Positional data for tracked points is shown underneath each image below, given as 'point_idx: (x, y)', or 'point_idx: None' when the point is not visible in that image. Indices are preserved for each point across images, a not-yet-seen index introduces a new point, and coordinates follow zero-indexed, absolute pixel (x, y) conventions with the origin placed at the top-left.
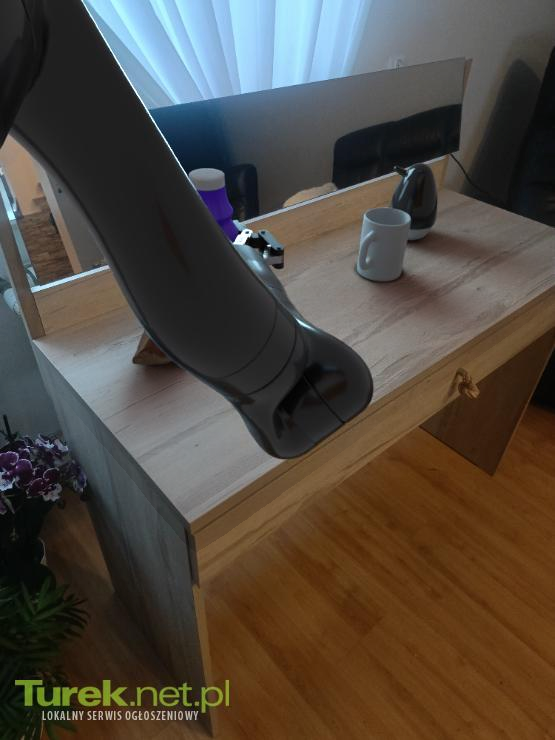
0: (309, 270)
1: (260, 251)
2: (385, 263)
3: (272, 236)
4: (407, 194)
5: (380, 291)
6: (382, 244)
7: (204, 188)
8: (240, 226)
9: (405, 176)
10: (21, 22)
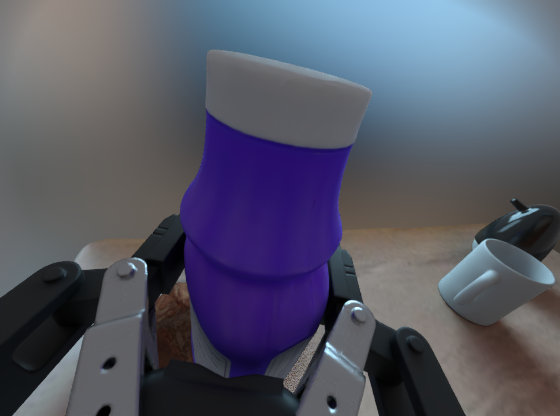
0: (385, 265)
1: (374, 388)
2: (489, 309)
3: (462, 413)
4: (521, 231)
5: (471, 340)
6: (501, 291)
7: (241, 118)
8: (341, 271)
9: (524, 212)
10: None
